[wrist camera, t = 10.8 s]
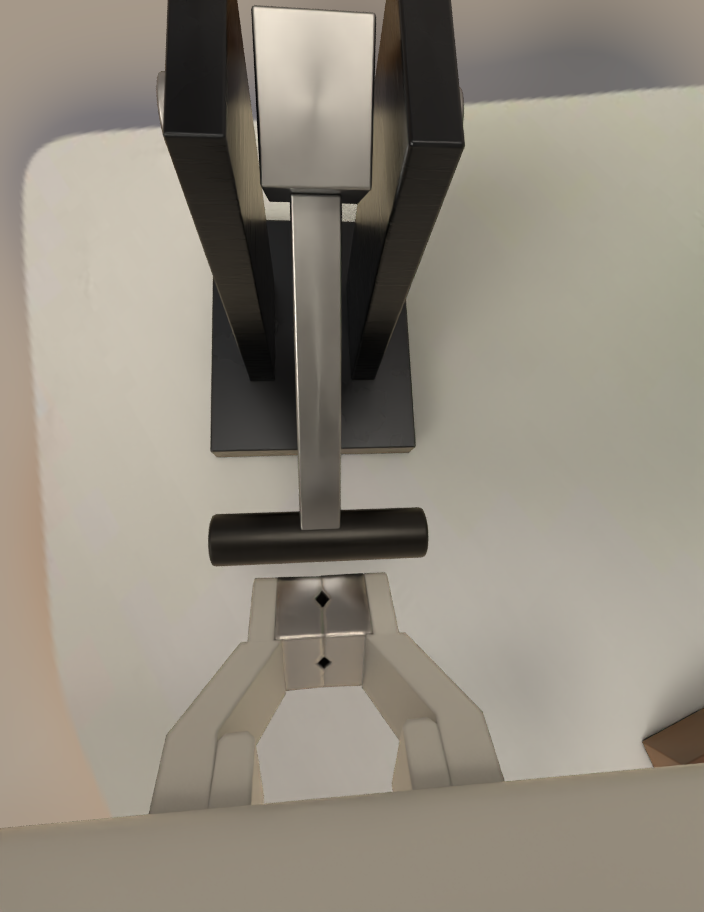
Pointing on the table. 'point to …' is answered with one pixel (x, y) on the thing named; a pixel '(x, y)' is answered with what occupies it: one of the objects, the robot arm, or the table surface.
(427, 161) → the bracket
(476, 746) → the robot arm
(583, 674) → the table surface
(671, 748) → the button block
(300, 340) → the lever
